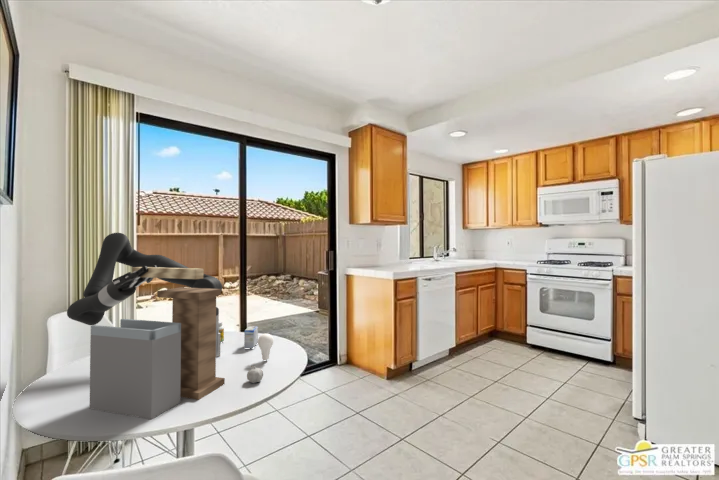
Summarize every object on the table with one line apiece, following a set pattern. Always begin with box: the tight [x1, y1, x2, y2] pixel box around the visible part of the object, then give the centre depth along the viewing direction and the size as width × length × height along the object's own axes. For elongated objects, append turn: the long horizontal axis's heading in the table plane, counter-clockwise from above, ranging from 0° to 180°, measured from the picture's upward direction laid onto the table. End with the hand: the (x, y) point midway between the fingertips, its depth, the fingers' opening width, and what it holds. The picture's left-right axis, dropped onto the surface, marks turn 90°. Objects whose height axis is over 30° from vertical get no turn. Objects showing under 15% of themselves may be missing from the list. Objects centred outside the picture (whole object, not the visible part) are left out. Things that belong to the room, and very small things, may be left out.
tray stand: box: [89, 318, 181, 420], centre depth 99 cm, size 22×10×24 cm, turn 75°
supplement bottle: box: [219, 321, 225, 344], centre depth 163 cm, size 5×5×10 cm
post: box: [156, 286, 226, 401], centre depth 111 cm, size 18×12×32 cm, turn 75°
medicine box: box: [243, 325, 259, 349], centre depth 156 cm, size 8×4×9 cm, turn 5°
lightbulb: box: [257, 333, 275, 361], centre depth 136 cm, size 6×6×11 cm
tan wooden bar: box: [131, 267, 204, 279], centre depth 113 cm, size 26×3×3 cm, turn 75°
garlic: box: [246, 365, 264, 384], centre depth 116 cm, size 6×5×5 cm
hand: (151, 268), depth 115 cm, fingers closed on tan wooden bar, 3 cm apart
